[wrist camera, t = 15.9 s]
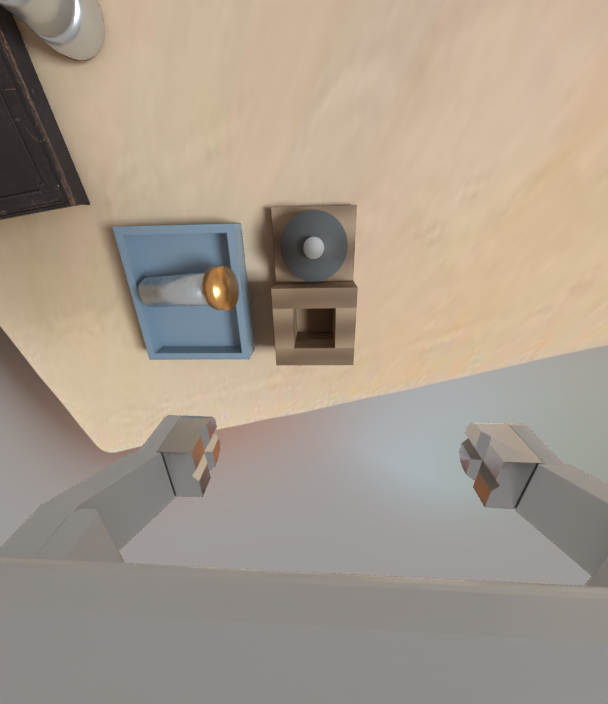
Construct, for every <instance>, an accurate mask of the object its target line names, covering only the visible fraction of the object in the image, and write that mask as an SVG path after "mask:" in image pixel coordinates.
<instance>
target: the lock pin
mask: <svg viewBox="0 0 608 704" xmlns="http://www.w3.org/2000/svg"><path fill="white" fill-rule="evenodd" d="M138 292H139V296H140V299H141V300H142V302H143V303H144V304H145V305H147V306H148V307H152V308H156V307H185V306H210V307H211V308H213V309H215V310H231V309H233V308H234V307H235V305H236V304H237V301H238V297H239V286H238V281H237V278H236V276H235V274H234V272H233V271H232V270H231V269H230V268H229V267H227V266H216V267H210V268H209V269H207V271H206V272H205V273H196V274H184V275H172V276H159V277H147V278H144V279H143V280H142V281H141V282H140V284H139V288H138Z"/></svg>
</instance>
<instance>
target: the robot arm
mask: <svg viewBox="0 0 608 704" xmlns="http://www.w3.org/2000/svg"><path fill="white" fill-rule="evenodd" d="M216 427H217V425H216V421H215V418H213V417H203V416H176V415H168V416H166V417H164V419H163V420H162V421H161V423H160V424H159V425H158V427H157V428H156V429H155V430H154V432H153V433H152V434H151V436H150V437H149V438H148V440H147V441H146V442H145V444H144V445H143V446H142V447H141V449H140V450H139V451H138V452H132V453H130V454H129V455H127V456H125V457H123V458H122V459H120V460H118V461H116V462H115V463H113V464H111V465H109V466H108V467H106V468H104V469H103V470H101V471H99V472H97V473H96V474H94V475H92V476H90V477H89V478H87V479H85V480H83V481H82V482H80V483H78V484H77V485H75V486H73V487H71V488H70V489H68V490H66V491H64V492H63V493H61V494H59V495H58V496H56V497H54V498H52V499H51V500H49V501H47V502H45V503H44V504H42V505H40V507H39V508H38V509H37V510H36V511H35V512H34V513H33V514H32V515H31V516H30V517H29V518H28V519H27V520H26V521H25V522H24V523H23V524H22V525H21V526H20V527H19V529H18V530H17V531H16V532H15V533H14V534H13V535H12V536H11V537H10V538H9V539H8V540H7V541H6V542H5V543H4V544H3V545H2V546H1V547H0V704H608V484H606V483H604V482H602V481H601V480H599V479H597V478H595V477H593V476H591V475H589V474H587V473H585V472H583V471H582V470H580V469H578V468H576V467H574V466H572V465H567V464H564V463H563V462H562V461H561V460H560V459H559V458H558V457H557V456H556V455H555V454H554V453H553V452H552V451H551V450H550V449H549V448H548V447H547V446H546V445H545V444H544V443H543V442H542V441H541V440H540V439H539V438H538V437H537V436H536V435H535V434H534V433H533V432H532V431H531V430H530V429H529V428H528V427H527V426H526V425H524V424H522V423H504V424H502V423H470V424H469V425H468V426H467V428H466V432H465V433H466V435H467V437H468V439H467V440H465V441H464V442H463V443H462V444H461V448H460V451H459V452H460V462H461V465H462V468H463V470H464V471H465V473H466V475H468V476H469V477H470V478H472V479H473V480H475V482H474V485H473V488H474V489H475V491H476V493H477V494H478V496H479V498H480V500H481V502H482V503H483V505H484V507H489V508H505V509H516V512H517V513H519V514H520V515H521V516H522V517H523V518H525V519H526V520H527V521H528V522H529V523H530V524H532V525H533V526H534V527H535V528H537V530H539V531H540V532H541V533H542V534H543V535H544V536H546V537H547V538H548V539H549V540H550V541H551V542H553V543H554V544H555V545H556V546H557V547H558V548H560V549H561V550H562V551H563V552H564V553H565V554H567V555H568V556H569V557H570V558H571V559H572V560H574V561H575V562H576V563H577V564H578V565H579V566H581V567H582V568H583V569H584V570H585V571H586V572H588V573H589V574H590V575H591V578H590V579H589V580H588V581H587V583H586V584H585V585H584V586H579V585H559V584H558V585H557V584H538V583H519V582H499V581H498V582H497V581H476V580H457V579H436V578H417V577H397V576H376V575H356V574H336V573H316V572H295V571H275V570H255V569H254V570H253V569H234V568H214V567H195V566H174V565H154V564H134V563H125V562H124V560H123V558H122V556H121V554H120V553H119V550H120V549H121V548H123V547H124V546H125V545H126V544H127V543H128V542H129V541H130V540H131V539H132V538H133V537H134V536H135V535H136V534H138V533H139V532H140V531H141V530H142V529H143V528H144V527H145V526H146V525H147V524H148V523H149V522H150V521H151V520H152V519H154V518H155V517H156V516H157V515H158V514H159V513H160V512H161V511H162V510H163V509H164V508H165V507H166V506H167V505H168V504H170V503H171V502H172V501H173V500H174V499H175V496H176V497H178V496H179V497H181V496H182V497H203V495H204V493H205V490H206V488H207V485H208V483H209V481H210V478H211V477H210V473H209V471H210V470H211V469H213V468H214V467H215V466H216V463H217V461H218V457H219V452H220V441H219V437H218V436H217V435H216V434H215V433H214V431H215V430H216Z"/></svg>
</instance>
